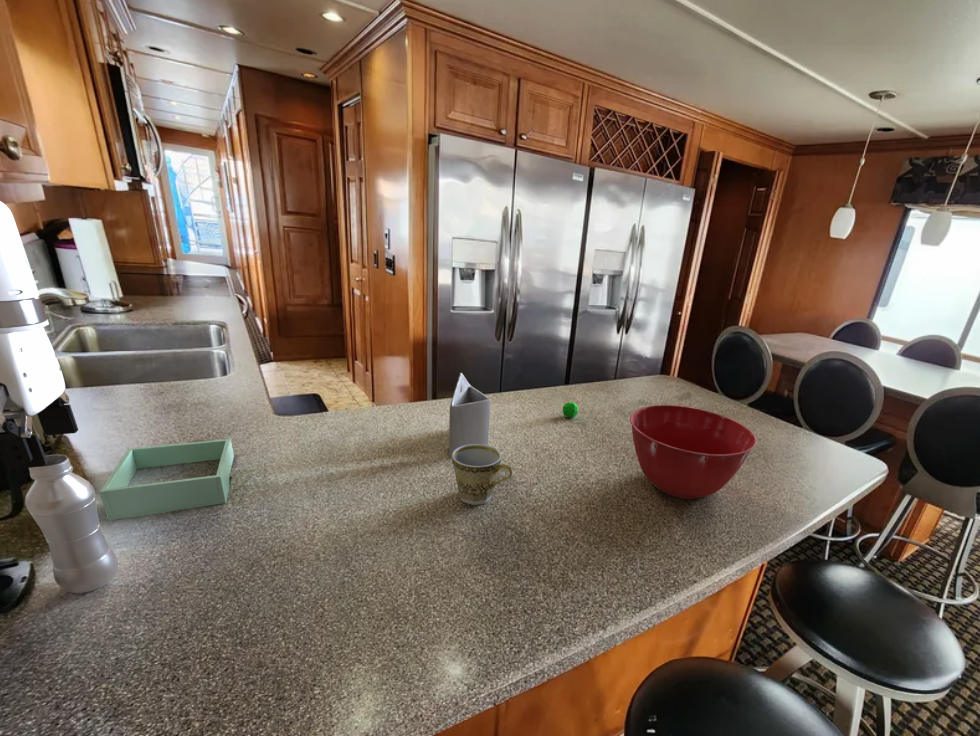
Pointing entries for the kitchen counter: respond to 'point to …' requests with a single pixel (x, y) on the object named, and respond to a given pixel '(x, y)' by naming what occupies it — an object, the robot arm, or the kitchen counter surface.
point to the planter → (468, 416)
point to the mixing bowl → (689, 448)
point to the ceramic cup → (477, 472)
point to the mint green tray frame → (170, 493)
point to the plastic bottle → (70, 526)
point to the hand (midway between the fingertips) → (46, 449)
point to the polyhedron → (570, 409)
